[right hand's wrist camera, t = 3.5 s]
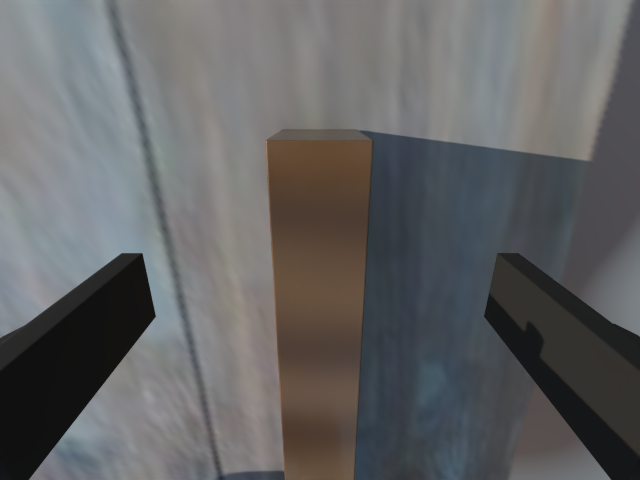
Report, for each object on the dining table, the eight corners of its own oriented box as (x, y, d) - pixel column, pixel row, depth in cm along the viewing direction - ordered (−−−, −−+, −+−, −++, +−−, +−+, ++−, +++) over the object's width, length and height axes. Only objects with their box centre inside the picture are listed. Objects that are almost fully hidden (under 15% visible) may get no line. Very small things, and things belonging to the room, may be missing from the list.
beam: (281, 129, 24) (265, 140, 17) (357, 129, 24) (373, 140, 17) (300, 590, 46) (296, 680, 39) (339, 591, 46) (343, 679, 39)
